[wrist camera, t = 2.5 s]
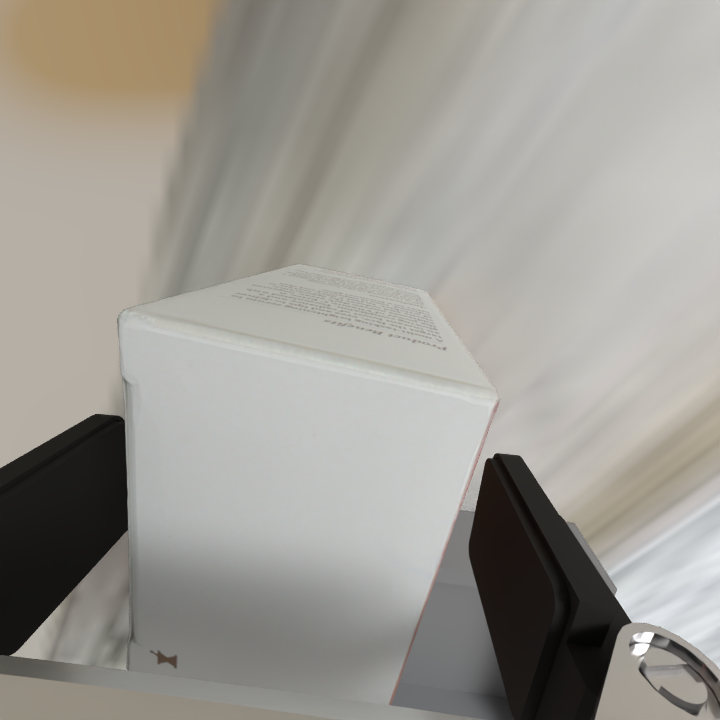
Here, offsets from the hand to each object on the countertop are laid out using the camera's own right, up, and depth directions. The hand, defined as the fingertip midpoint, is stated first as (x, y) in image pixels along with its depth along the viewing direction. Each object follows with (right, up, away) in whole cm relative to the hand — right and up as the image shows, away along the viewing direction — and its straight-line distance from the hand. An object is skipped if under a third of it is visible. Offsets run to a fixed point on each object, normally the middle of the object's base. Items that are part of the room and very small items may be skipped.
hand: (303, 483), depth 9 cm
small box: (+1, +3, +7) cm, 7 cm away
